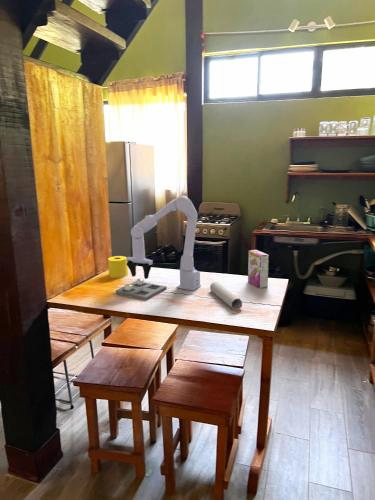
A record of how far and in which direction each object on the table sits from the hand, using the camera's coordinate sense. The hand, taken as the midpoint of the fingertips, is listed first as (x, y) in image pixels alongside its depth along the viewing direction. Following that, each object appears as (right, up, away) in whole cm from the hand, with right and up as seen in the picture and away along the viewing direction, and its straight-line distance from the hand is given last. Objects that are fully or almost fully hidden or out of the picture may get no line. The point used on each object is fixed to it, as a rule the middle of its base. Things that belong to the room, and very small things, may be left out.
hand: (140, 277), depth 173 cm
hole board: (+1, -6, -4) cm, 8 cm away
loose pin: (0, -5, +1) cm, 5 cm away
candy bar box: (+58, -4, +3) cm, 58 cm away
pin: (-5, -7, -6) cm, 10 cm away
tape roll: (-15, -1, +21) cm, 26 cm away
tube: (+39, -9, -15) cm, 43 cm away
